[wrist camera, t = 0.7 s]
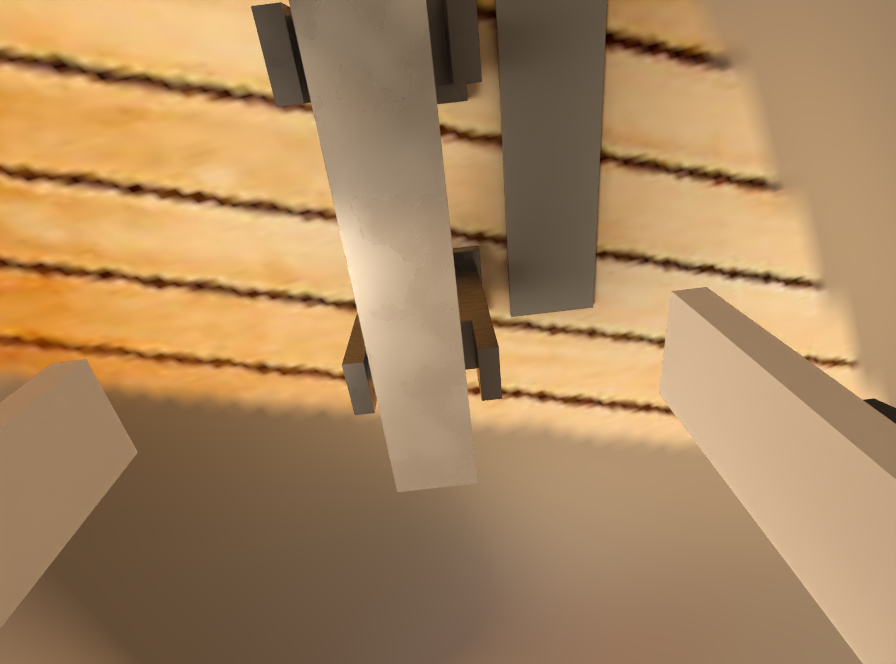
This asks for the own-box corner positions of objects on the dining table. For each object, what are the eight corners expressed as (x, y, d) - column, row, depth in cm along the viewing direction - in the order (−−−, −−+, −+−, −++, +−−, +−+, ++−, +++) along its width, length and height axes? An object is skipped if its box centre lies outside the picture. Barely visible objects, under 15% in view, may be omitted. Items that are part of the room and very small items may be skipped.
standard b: (361, 259, 32) (330, 347, 22) (477, 245, 32) (503, 327, 21) (375, 323, 34) (353, 431, 24) (483, 311, 34) (508, 413, 24)
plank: (494, -19, 25) (495, -20, 25) (606, -33, 25) (608, -34, 25) (510, 314, 35) (511, 316, 34) (591, 305, 34) (593, 307, 34)
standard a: (312, 15, 25) (232, -31, 15) (458, -3, 25) (481, -62, 15) (332, 116, 28) (276, 137, 17) (466, 99, 28) (491, 111, 17)
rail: (296, -109, 16) (249, -179, 12) (410, -123, 16) (405, -199, 12) (401, 426, 28) (397, 492, 23) (468, 419, 28) (477, 483, 23)
